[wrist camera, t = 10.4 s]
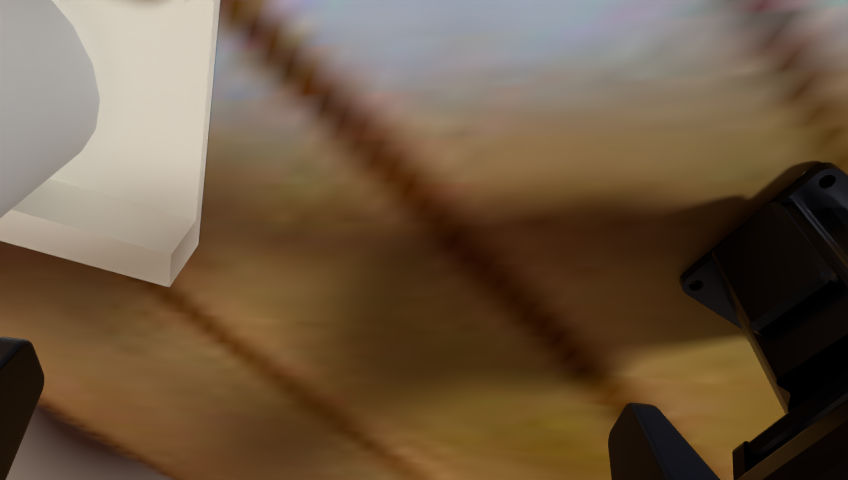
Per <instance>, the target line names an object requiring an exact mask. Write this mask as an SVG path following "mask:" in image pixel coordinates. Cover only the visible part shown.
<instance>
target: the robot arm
mask: <svg viewBox="0 0 848 480" xmlns="http://www.w3.org/2000/svg"><path fill="white" fill-rule="evenodd" d="M826 175H830V176H829V178H828V179H827V180H825V181H823V182H819V180H820V179H821V178H822V177H824V176H826ZM694 280H699V281H698V282H697V283H695V284H690V283H691V282H693V281H694ZM679 281H680V285H681V287H682V289H683V291H684V292H685V293H686V294H687V295H689V296H691V297H692V298H694V299H695V300H697V301H698V302H700V303H702V304H703V305H705V306H706V307H708V308H710V309H711V310H713V311H714V312H716V313H717V314H719V315H721V316H722V317H724V318H725V319H727V320H728V321H730V322H732V323H733V324H735V325H736V326H738V327H740V328H741V329H743V331H744V333H745V335H746V337H747V339H748V341H749V343H750V345H751V347H752V349H753V351H754V353H755V354H756V356H757V358H758V360H759V362H760V364H761V366H762V368H763V370H764V372H765V374H766V376H767V378H768V380H769V382H770V384H771V386H772V388H773V390H774V392H775V394H776V396H777V398H778V400H779V402H780V404H781V406H782V408H783V410H784V412H785V415H784V416H783V417H781V418H780V419H779V420H778V421H776V422H775V423H774V424H772V425H771V426H770V427H768V428H767V429H766V430H764V431H763V432H762V433H761V434H759V435H758V436H757V437H755V438H754V439H753V440H751V441H750V442H748V441H745V442H743V443H742V444H741V445H739V446H738V447H737V448H735V449H734V450H733V452H732V453H733V476H734V480H848V175H847V174H846V173H845V172H844V171H842V170H841V169H840V168H839V167H837V166H836V165H834V164H832V163H820V164H817V165H816V166H814V167H812V168H811V169H810V170H808V171H807V172H806V173H805V174H803V175H802V176H801V177H800V178H799V179H797V180H796V181H795V182H794V183H792V184H791V185H790V186H789V187H788V188H786V189H785V190H784V191H783V192H781V193H780V194H779V195H778V196H777V197H775V198H774V199H773V200H772V201H770V202H769V203H768V204H767V205H766V206H764V207H763V208H762V209H761V210H759V211H758V212H757V213H756V214H755V215H753V216H752V217H751V218H750V219H748V220H747V221H746V222H745V223H744V224H742V225H741V226H740V227H739V228H737V229H736V230H735V231H734V232H733V233H731V234H730V235H729V236H728V237H726V238H725V239H724V240H723V241H722V242H720V243H719V244H718V245H717V246H715V247H714V248H713V249H712V250H711V251H709V252H708V253H707V254H706V255H704V256H703V257H702V258H701V259H700V260H698V261H697V262H696V263H695V264H693V265H692V266H691V267H690V268H689V269H687V270H686V271H685V272H684V273H683V274H682V275H681V276H680V279H679ZM43 386H44V373H43V371H42V368H41V365H40V363H39V360H38V357H37V355H36V352H35V349H34V347H33V345H32V343H31V342H30V341H28V340H26V339H20V338H10V337H0V480H6V477H7V475H8V473H9V471H10V468H11V466H12V463H13V461H14V458H15V456H16V454H17V451H18V449H19V446H20V443H21V441H22V439H23V436H24V434H25V432H26V429H27V427H28V424H29V422H30V419H31V417H32V414H33V412H34V410H35V407H36V405H37V403H38V400H39V398H40V395H41V393H42V390H43ZM608 449H609V458H610V468H611V477H612V480H720V479H719V478H718V477H717V475H716V474H715V473H714V472H713V471H712V470H711V469H710V467H709V466H708V465H707V464H706V463H705V462H704V461H703V459H702V458H701V457H700V456H699V455H698V454H697V453H696V451H695V450H694V449H693V448H692V447H691V446H690V445H689V443H688V442H687V441H686V440H685V439H684V438H683V437H682V435H681V434H680V433H679V432H678V431H677V430H676V428H675V427H674V426H673V425H672V424H671V423H670V422H669V420H668V419H667V418H666V417H665V416H664V415H663V414H662V412H661V411H660V410H659V409H658V408H656V407H655V406H653V405H650V404H642V403H629V404H627V405H626V406H625V407H624V409H623V411H622V412H621V414H620V416H619V417H618V419H617V421H616V423H615V424H614V426H613V428H612V429H611V431H610V434H609V439H608Z"/></svg>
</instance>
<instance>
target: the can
mask: <svg viewBox="0 0 848 480" xmlns="http://www.w3.org/2000/svg"><path fill="white" fill-rule="evenodd" d="M99 104H100V97H99V92H98V87H97V82H96V77H95V72H94V68H93V64H92V62H91V60H90V58H89V56H88V54H87V52H86V50H85V48H84V46H83V44H82V42H81V40H80V38H79V36H78V34H77V32H76V30H75V28H74V26H73V25H72V24H71V23H70V21H69V20H68V19H67V18H66V17H65V15H64V14H63V13H62V12H61V11H60V9H59V8H58V7H57V6H56V5H55V3H54V2H53V1H52V0H0V218H1V217H2V216H4V215H5V214H6V213H7V212H8V211H10V210H11V209H12V208H13V207H15V206H16V205H17V204H18V203H19V202H21V201H22V200H23V199H24V198H25V197H27V196H28V195H29V194H30V193H32V192H33V191H34V190H35V189H36V188H38V187H39V186H40V185H41V184H43V183H44V182H45V181H46V180H47V179H49V178H50V177H51V176H52V175H53V174H55V173H56V172H57V171H58V170H60V169H61V168H62V167H63V166H64V165H66V164H67V163H68V162H69V161H71V160H72V159H73V158H74V157H75V156H77V155H78V154H79V153H80V152H81V151H82V150H83V148H84V147H85V145H86V144H87V142H88V141H89V139H90V138H91V136H92V135H93V133H94V132H95V130H96V125H97V118H98V111H99Z"/></svg>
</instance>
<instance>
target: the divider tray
mask: <svg viewBox="0 0 848 480" xmlns="http://www.w3.org/2000/svg"><path fill="white" fill-rule="evenodd" d="M52 1H53V2H54V3H55V5H56V6H57V7H58V8H59V9H60V11H61V12H62V13H63V14H64V15H65V17H66V18H67V19H68V20H69V21H70V23H71V24H72V25H73V26H74V28H75V30H76V32H77V34H78V36H79V38H80V40H81V42H82V44H83V46H84V48H85V50H86V52H87V54H88V56H89V58H90V60H91V62H92V64H93V68H94V72H95V77H96V82H97V87H98V92H99V97H100V104H99V111H98V118H97V125H96V130H95V132H94V133H93V135H92V136H91V138H90V139H89V141H88V142H87V144H86V145H85V147H84V148H83V150H82V151H81V152H80V153H79V154H78V155H77V156H75V157H74V158H73V159H72V160H71V161H69V162H68V163H67V164H66V165H64V166H63V167H62V168H61V169H60V170H58V171H57V172H56V173H55V174H53V175H52V176H51V177H50V178H49V179H47V180H46V181H45V182H44V183H43V184H41V185H40V186H39V187H38V188H36V189H35V190H34V191H33V192H32V193H30V194H29V195H28V196H27V197H25V198H24V199H23V200H22V201H21V202H19V203H18V204H17V205H16V206H15V207H13V208H12V209H11V210H10V211H8V212H7V213H6V214H5V215H4V216H2V217H1V218H0V241H3V242H6V243H10V244H14V245H17V246H21V247H24V248H28V249H32V250H35V251H39V252H43V253H46V254H50V255H54V256H57V257H61V258H64V259H68V260H72V261H75V262H79V263H83V264H86V265H90V266H94V267H97V268H101V269H105V270H108V271H112V272H115V273H119V274H123V275H126V276H130V277H134V278H137V279H141V280H145V281H148V282H152V283H155V284H159V285H163V286H166V287H170V286H171V284H172V283H173V281H174V280H175V278H176V277H177V275H178V274H179V272H180V271H181V270H182V268H183V267H184V265H185V264H186V262H187V261H188V259H189V258H190V256H191V255H192V253H193V252H194V250H195V249H196V247H197V246H198V244H199V232H200V221H201V210H202V199H203V187H204V176H205V165H206V153H207V142H208V131H209V120H210V108H211V97H212V86H213V75H214V63H215V52H216V41H217V29H218V18H219V7H220V0H52Z"/></svg>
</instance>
